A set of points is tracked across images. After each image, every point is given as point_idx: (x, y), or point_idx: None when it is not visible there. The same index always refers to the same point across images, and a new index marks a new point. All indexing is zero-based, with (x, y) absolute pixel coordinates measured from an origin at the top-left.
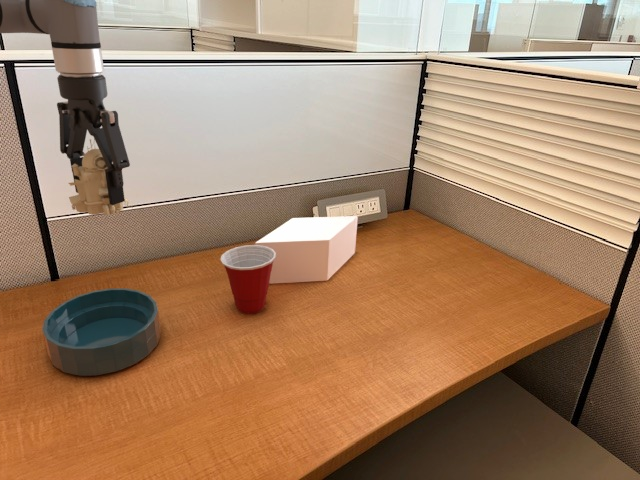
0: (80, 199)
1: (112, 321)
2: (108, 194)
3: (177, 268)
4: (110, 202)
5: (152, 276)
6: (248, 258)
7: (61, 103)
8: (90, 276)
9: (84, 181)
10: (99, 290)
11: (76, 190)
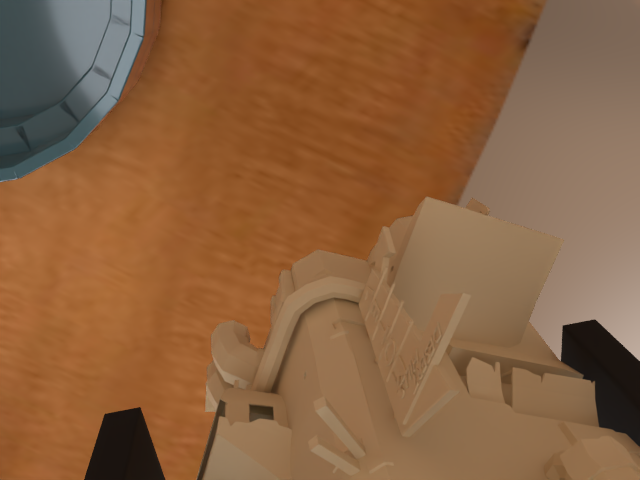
0: (372, 274)
1: (77, 44)
2: (122, 478)
3: None
4: (122, 423)
5: None
6: None
7: None
8: (456, 147)
9: (315, 447)
10: (129, 57)
11: (594, 332)
